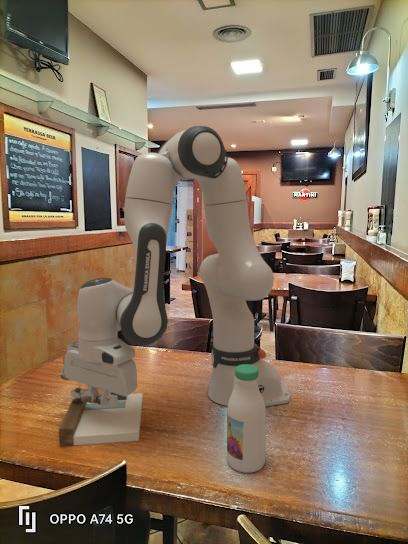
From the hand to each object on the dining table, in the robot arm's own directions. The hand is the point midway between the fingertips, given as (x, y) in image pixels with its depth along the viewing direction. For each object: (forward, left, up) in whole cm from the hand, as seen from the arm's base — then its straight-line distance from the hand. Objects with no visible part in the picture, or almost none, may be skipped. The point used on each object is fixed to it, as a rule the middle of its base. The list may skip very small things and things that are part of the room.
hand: (99, 403), depth 91 cm
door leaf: (-3, -1, -5) cm, 6 cm away
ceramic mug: (+12, -32, -6) cm, 35 cm away
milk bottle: (-32, +18, -6) cm, 37 cm away
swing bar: (+2, -3, -1) cm, 4 cm away
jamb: (+6, -1, -5) cm, 8 cm away
